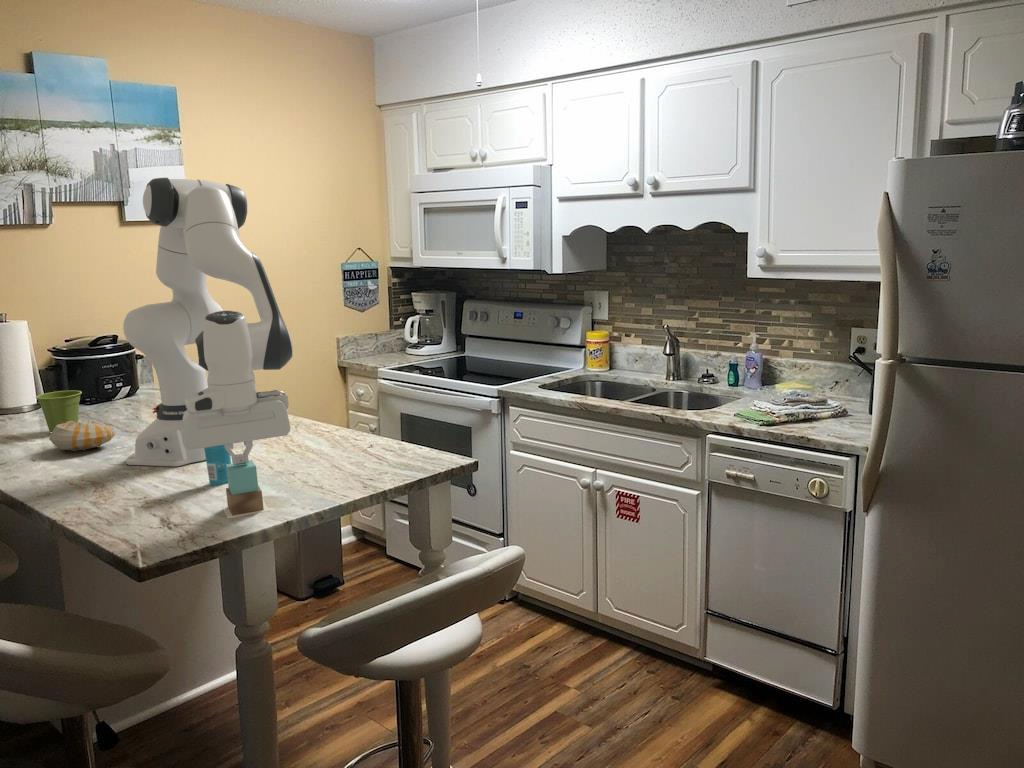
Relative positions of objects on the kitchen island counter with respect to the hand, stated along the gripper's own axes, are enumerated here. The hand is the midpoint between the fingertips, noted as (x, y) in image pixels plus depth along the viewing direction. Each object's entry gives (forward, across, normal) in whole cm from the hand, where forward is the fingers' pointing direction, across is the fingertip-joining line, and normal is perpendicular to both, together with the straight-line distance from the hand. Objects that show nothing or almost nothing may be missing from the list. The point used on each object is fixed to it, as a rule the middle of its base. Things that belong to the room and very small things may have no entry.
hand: (240, 463), depth 165 cm
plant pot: (+10, +35, -103) cm, 110 cm away
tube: (+10, +2, -23) cm, 25 cm away
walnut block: (+9, 0, 0) cm, 9 cm away
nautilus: (+10, +30, -79) cm, 86 cm away
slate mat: (+10, 0, 0) cm, 10 cm away
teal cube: (+5, 0, 0) cm, 5 cm away
